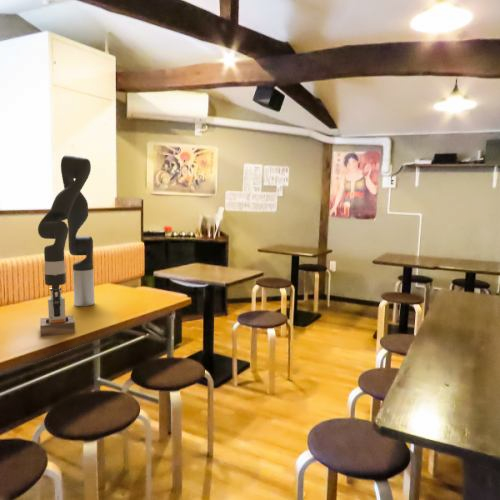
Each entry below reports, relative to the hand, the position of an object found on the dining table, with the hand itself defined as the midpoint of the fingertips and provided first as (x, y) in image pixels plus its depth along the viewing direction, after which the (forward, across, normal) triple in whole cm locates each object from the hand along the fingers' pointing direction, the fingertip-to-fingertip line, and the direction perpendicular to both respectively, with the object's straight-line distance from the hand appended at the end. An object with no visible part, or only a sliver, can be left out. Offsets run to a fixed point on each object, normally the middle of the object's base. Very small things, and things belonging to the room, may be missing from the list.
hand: (57, 314), depth 171 cm
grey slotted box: (+7, 0, 0) cm, 7 cm away
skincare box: (+6, 0, 0) cm, 6 cm away
